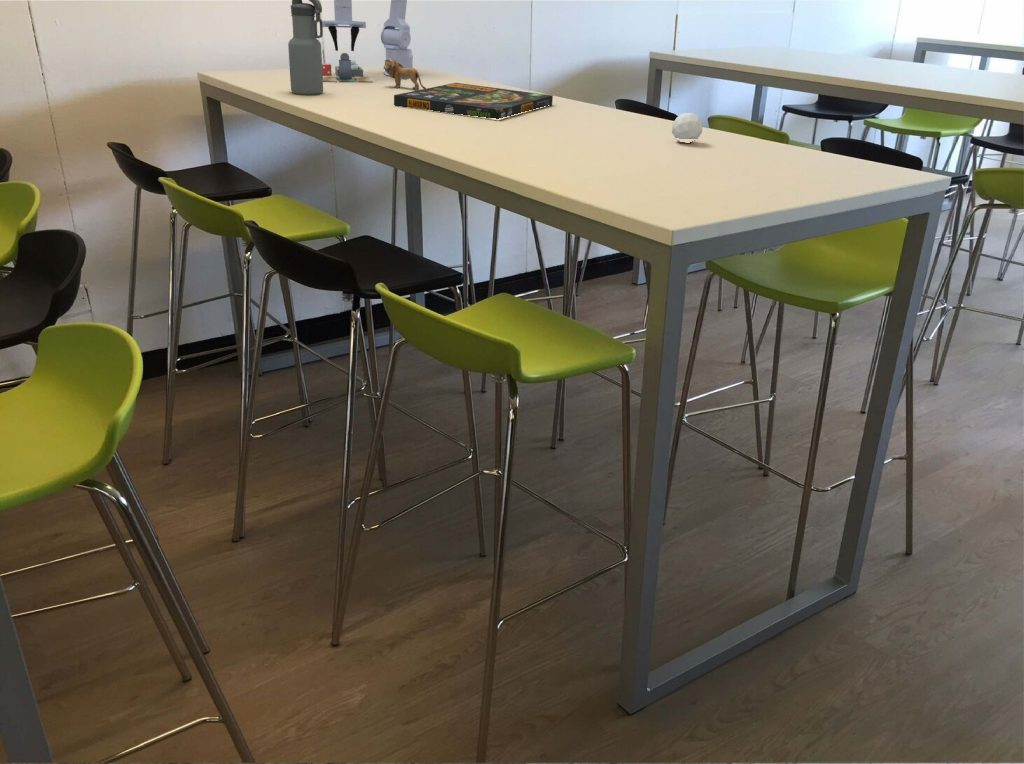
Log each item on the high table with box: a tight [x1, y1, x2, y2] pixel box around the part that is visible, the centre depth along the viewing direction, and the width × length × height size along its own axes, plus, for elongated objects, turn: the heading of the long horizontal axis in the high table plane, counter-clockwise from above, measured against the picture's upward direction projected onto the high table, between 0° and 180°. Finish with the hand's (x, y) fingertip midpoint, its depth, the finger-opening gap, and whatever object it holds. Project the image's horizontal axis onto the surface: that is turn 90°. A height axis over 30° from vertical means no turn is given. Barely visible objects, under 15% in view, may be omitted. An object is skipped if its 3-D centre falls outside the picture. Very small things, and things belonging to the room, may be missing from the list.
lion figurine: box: [383, 58, 427, 91], centre depth 289 cm, size 15×5×9 cm, turn 74°
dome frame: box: [334, 65, 364, 78], centre depth 312 cm, size 9×9×2 cm
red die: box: [322, 63, 332, 76], centre depth 310 cm, size 4×4×4 cm
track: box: [323, 75, 374, 83], centre depth 302 cm, size 17×10×1 cm, turn 106°
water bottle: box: [287, 0, 324, 96], centre depth 268 cm, size 10×10×28 cm
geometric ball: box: [671, 112, 703, 140], centre depth 229 cm, size 8×8×8 cm
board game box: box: [393, 82, 554, 119], centre depth 267 cm, size 35×35×4 cm
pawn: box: [338, 52, 353, 80], centre depth 300 cm, size 4×4×8 cm
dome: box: [350, 59, 359, 70], centre depth 311 cm, size 6×6×4 cm
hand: (344, 50), depth 298 cm, fingers open, 5 cm apart
